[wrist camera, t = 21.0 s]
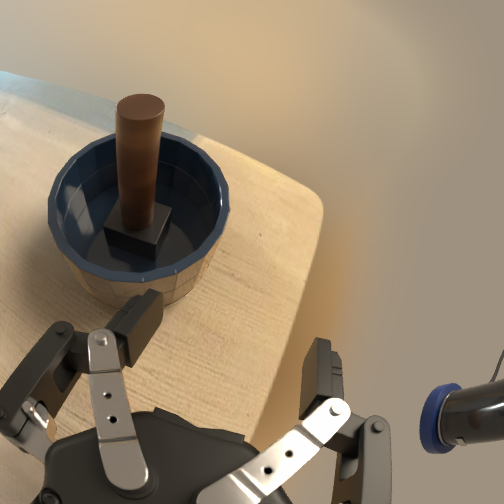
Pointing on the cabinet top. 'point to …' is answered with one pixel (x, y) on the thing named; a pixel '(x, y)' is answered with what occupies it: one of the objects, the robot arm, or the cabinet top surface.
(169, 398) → the cabinet top surface
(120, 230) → the brown cylinder
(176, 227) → the pot
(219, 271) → the cabinet top surface
